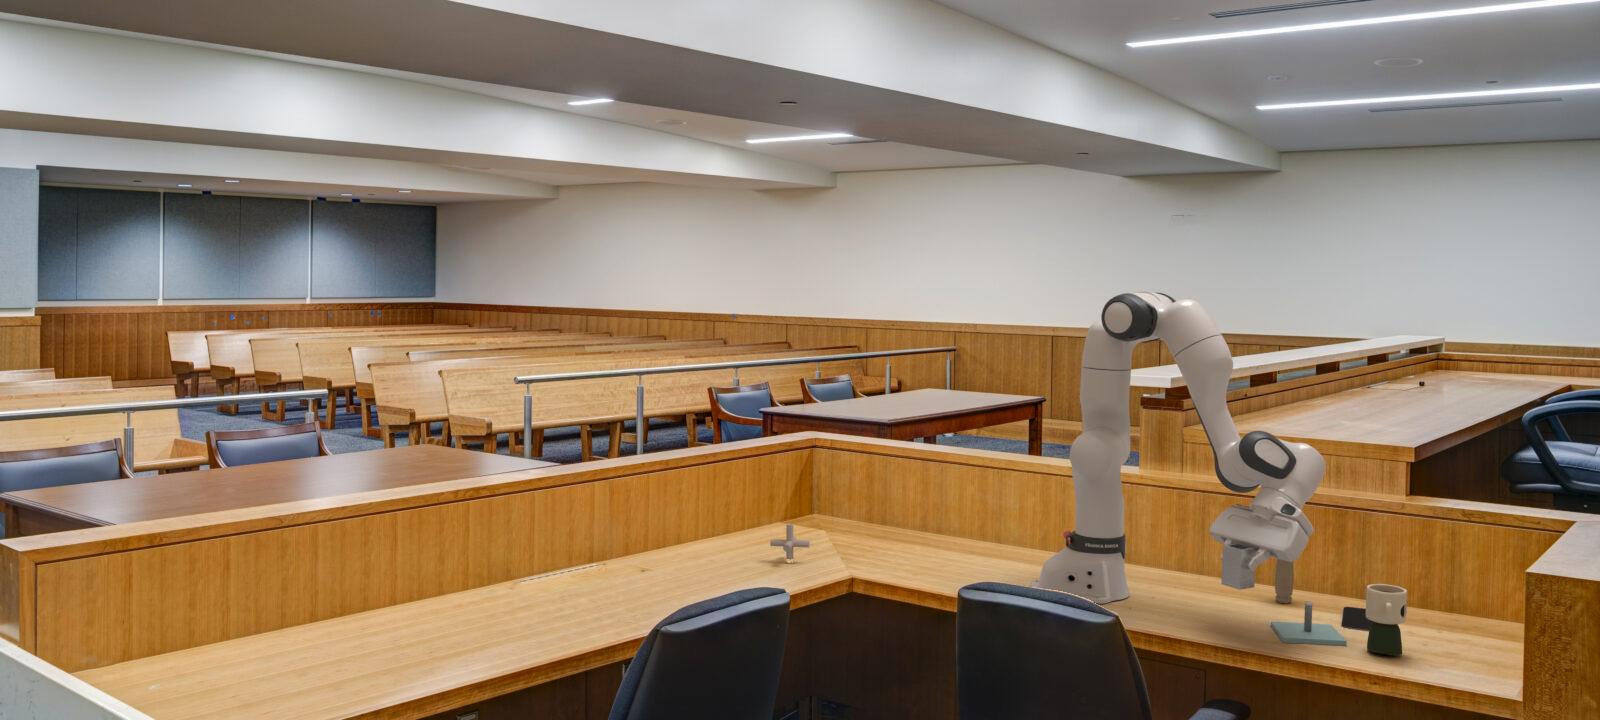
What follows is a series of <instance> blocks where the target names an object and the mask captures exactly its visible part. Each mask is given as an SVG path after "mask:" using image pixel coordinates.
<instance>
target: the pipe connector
mask: <svg viewBox="0 0 1600 720" xmlns="http://www.w3.org/2000/svg"><path fill="white" fill-rule="evenodd" d="M785 530H786V531H785V533H786V536H785V537H786V539H779V538H777V539H775V538H770V539H769V540H770V541H769V544H770V547H783V548H782V549H783V551H784V552H786V554H785V555H786V556H785V557H786V559H790V560H791V559H793V560H794V548H808V549H809V548H810V543H811V542H810V540H808V539H807V540H801V539H797V537H796V535H794V523H786V528H785Z"/></svg>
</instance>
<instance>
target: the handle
mask: <svg viewBox="0 0 1600 720" xmlns="http://www.w3.org/2000/svg"><path fill="white" fill-rule="evenodd" d="M1275 561H1276V562H1275V571H1274V591H1275V594H1276V595H1275V601H1276V602H1278V603H1280V604H1290V603H1292V600H1293V597H1292V596H1293V590H1294V583H1295V580H1294V579H1295V575H1294V574H1295V570H1294V569H1295V568H1294V561H1292V562H1288V561H1285V560H1281V559H1278V558H1276V560H1275Z"/></svg>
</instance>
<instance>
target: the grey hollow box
mask: <svg viewBox="0 0 1600 720" xmlns="http://www.w3.org/2000/svg"><path fill="white" fill-rule="evenodd" d="M1222 554H1223V558H1222V560H1221V562H1222V563H1221V564H1222V565H1221V580H1220V581H1221V585H1223V586H1226V587H1229V588H1233V589H1236V590H1239V591H1241V590H1247V589H1253V588H1255V583H1256V582H1255V581H1256V580H1255V579H1256V569H1255V570H1254V571H1252V570H1249V569H1247V568H1246V567H1245V562H1247V559H1248V558H1251V559H1252V558H1253V557H1255V556H1256V555H1257V553H1256V548H1253V547H1250V546H1246V545H1242V544H1239V543H1236V544H1229V545H1224V544H1223V545H1222Z"/></svg>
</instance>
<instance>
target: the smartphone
mask: <svg viewBox="0 0 1600 720" xmlns="http://www.w3.org/2000/svg"><path fill="white" fill-rule="evenodd" d="M1341 614H1342V616H1341V624H1340V626H1341V628H1342V627H1343V629H1346V628H1348V629H1347V630H1355V631H1363V632H1364V631H1365V632H1369V630H1370V625H1371V623H1372V622H1374V621H1371V620H1369V619H1367V618H1366V608H1364V607H1363V608H1362V607H1354V606H1344V607H1343V608H1342V613H1341Z"/></svg>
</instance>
